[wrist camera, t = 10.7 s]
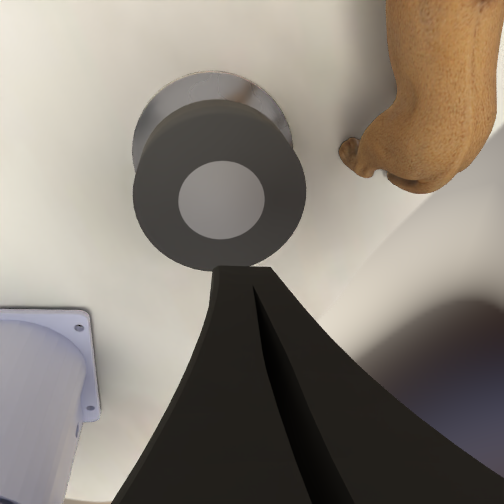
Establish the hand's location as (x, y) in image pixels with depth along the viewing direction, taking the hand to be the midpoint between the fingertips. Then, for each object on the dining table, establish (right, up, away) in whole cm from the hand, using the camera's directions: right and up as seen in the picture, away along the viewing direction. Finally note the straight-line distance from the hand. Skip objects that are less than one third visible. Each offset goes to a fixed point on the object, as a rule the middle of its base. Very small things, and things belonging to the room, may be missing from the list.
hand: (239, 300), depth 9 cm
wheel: (-1, +4, +6) cm, 7 cm away
